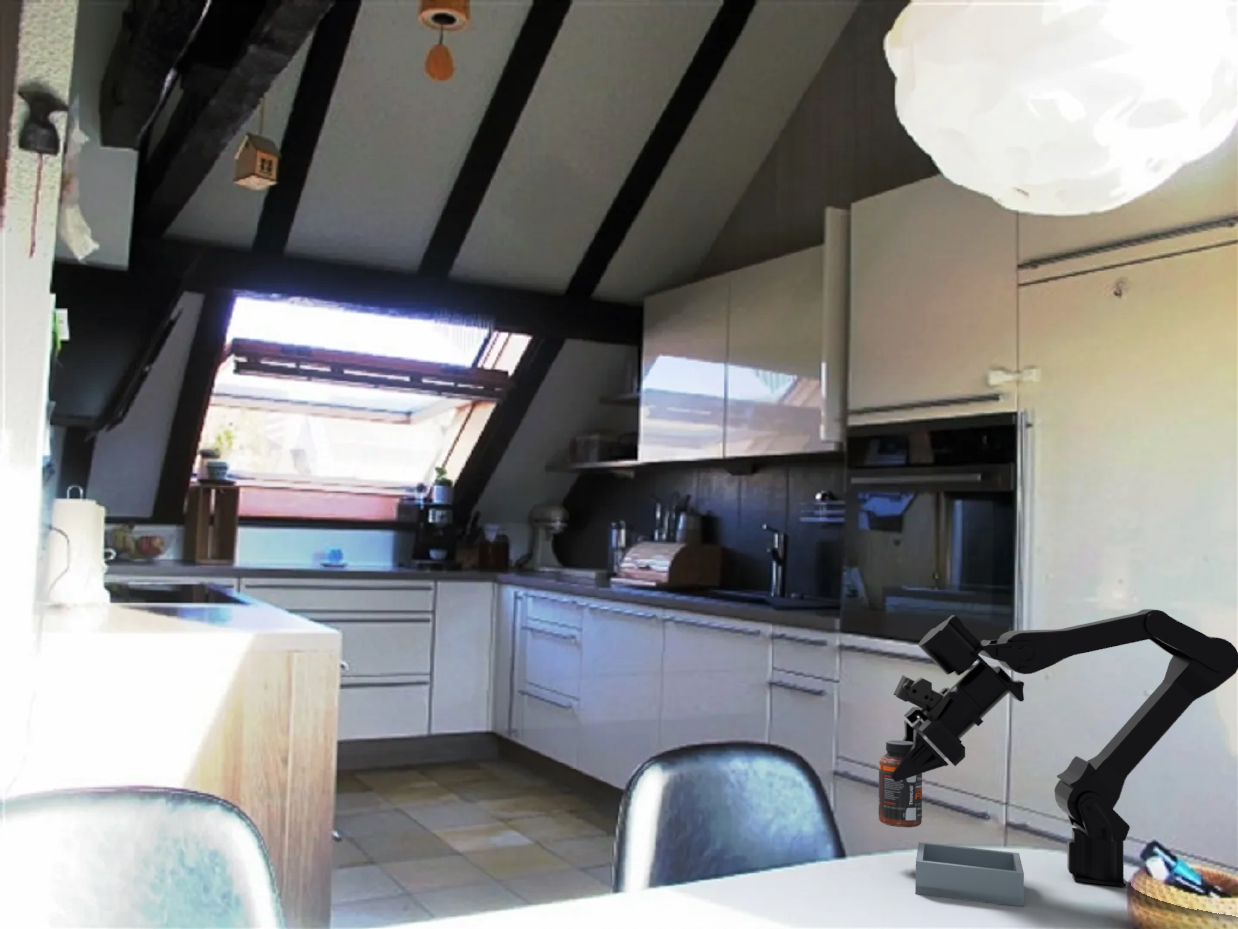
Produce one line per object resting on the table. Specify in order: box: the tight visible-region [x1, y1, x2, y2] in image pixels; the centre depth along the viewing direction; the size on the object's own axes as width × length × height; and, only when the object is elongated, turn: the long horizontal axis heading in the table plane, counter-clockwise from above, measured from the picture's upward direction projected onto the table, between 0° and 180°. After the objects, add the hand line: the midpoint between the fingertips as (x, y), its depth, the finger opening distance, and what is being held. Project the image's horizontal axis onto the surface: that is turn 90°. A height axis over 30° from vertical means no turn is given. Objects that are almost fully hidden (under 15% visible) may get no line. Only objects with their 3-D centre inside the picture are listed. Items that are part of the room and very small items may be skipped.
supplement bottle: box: [878, 739, 923, 828], centre depth 154 cm, size 6×6×11 cm
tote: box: [914, 841, 1025, 908], centre depth 142 cm, size 13×11×4 cm
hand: (890, 775), depth 154 cm, fingers closed on supplement bottle, 6 cm apart
